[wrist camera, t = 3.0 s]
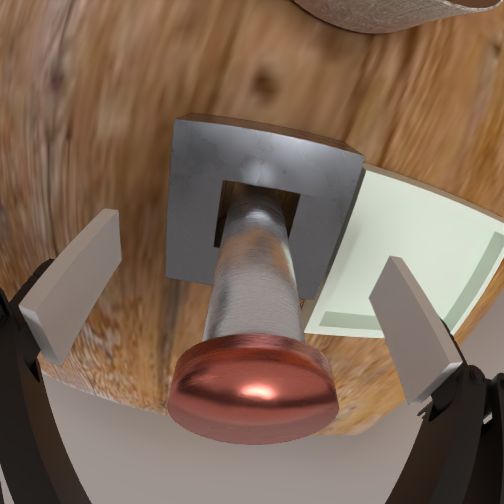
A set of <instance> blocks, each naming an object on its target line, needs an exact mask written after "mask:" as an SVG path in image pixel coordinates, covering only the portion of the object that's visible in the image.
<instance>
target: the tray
mask: <svg viewBox="0 0 504 504" xmlns="http://www.w3.org/2000/svg"><path fill="white" fill-rule="evenodd" d="M389 256H395V257H400V258H402V259H403V261H404V262H405V264H406V265H407V267H408V268H409V270H410V271H411V273H412V274H413V276H414V277H415V279H416V280H417V282H418V283H419V285H420V286H421V288H422V290H423V291H424V293H425V294H426V296H427V298H428V299H429V301H430V303H431V304H432V306H433V308H434V309H435V311H436V313H437V314H438V316H439V317H440V318H441V319H442V320H443V321H444V322H445V323H446V325H447V327H448V328H449V330H450V332H451V333H450V334H452V336H453V335H454V334H455V332H456V331H457V330H458V328H459V327H460V326H461V324H462V323H463V322H464V320H465V319H466V317H467V316H468V315H469V313H470V312H471V310H472V309H473V307H474V306H475V304H476V303H477V301H478V300H479V298H480V297H481V295H482V294H483V292H484V290H485V289H486V287H487V286H488V284H489V282H490V281H491V279H492V277H493V275H494V274H495V272H496V270H497V268H498V267H499V265H500V263H501V261H502V259H503V257H504V219H503V218H502V217H500V216H498V215H496V214H494V213H492V212H490V211H488V210H486V209H484V208H481V207H479V206H477V205H475V204H473V203H471V202H468V201H466V200H464V199H462V198H459V197H457V196H455V195H452V194H450V193H448V192H445V191H443V190H440V189H438V188H435V187H433V186H430V185H428V184H425V183H422V182H420V181H417V180H414V179H412V178H409V177H406V176H403V175H400V174H397V173H394V172H391V171H388V170H385V169H382V168H379V167H376V166H373V165H370V164H366V163H363V165H362V169H361V172H360V175H359V178H358V182H357V185H356V188H355V191H354V194H353V197H352V200H351V203H350V206H349V209H348V212H347V215H346V217H345V220H344V223H343V226H342V229H341V231H340V234H339V237H338V240H337V242H336V245H335V248H334V250H333V253H332V256H331V258H330V261H329V263H328V266H327V269H326V271H325V274H324V276H323V279H322V281H321V284H320V286H319V289H318V291H317V293H316V296H315V298H314V300H312V299H305V302H304V304H303V307H302V309H301V316H302V322H303V328H304V333H313V334H324V335H338V336H353V337H373V338H385V337H384V334H383V332H382V329H381V327H380V324H379V322H378V319H377V317H376V315H375V312H374V310H373V307H372V305H371V303H370V300H369V296H370V294H371V292H372V290H373V288H374V286H375V284H376V282H377V280H378V278H379V276H380V274H381V272H382V270H383V268H384V266H385V264H386V262H387V260H388V258H389Z"/></svg>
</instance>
